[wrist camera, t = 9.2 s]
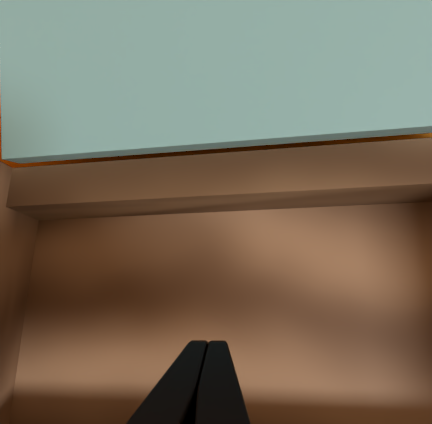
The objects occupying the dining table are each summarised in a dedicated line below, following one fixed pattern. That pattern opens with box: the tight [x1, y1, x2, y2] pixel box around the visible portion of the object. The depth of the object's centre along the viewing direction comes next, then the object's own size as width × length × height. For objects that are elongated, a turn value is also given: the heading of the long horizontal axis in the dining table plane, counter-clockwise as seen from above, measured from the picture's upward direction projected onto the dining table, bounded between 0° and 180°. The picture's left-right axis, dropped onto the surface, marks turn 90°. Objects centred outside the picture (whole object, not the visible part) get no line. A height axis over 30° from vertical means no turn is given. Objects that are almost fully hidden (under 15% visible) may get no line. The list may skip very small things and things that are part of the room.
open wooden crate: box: [0, 138, 432, 424], centre depth 15 cm, size 14×24×6 cm, turn 90°
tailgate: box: [0, 0, 432, 163], centre depth 16 cm, size 2×21×10 cm
